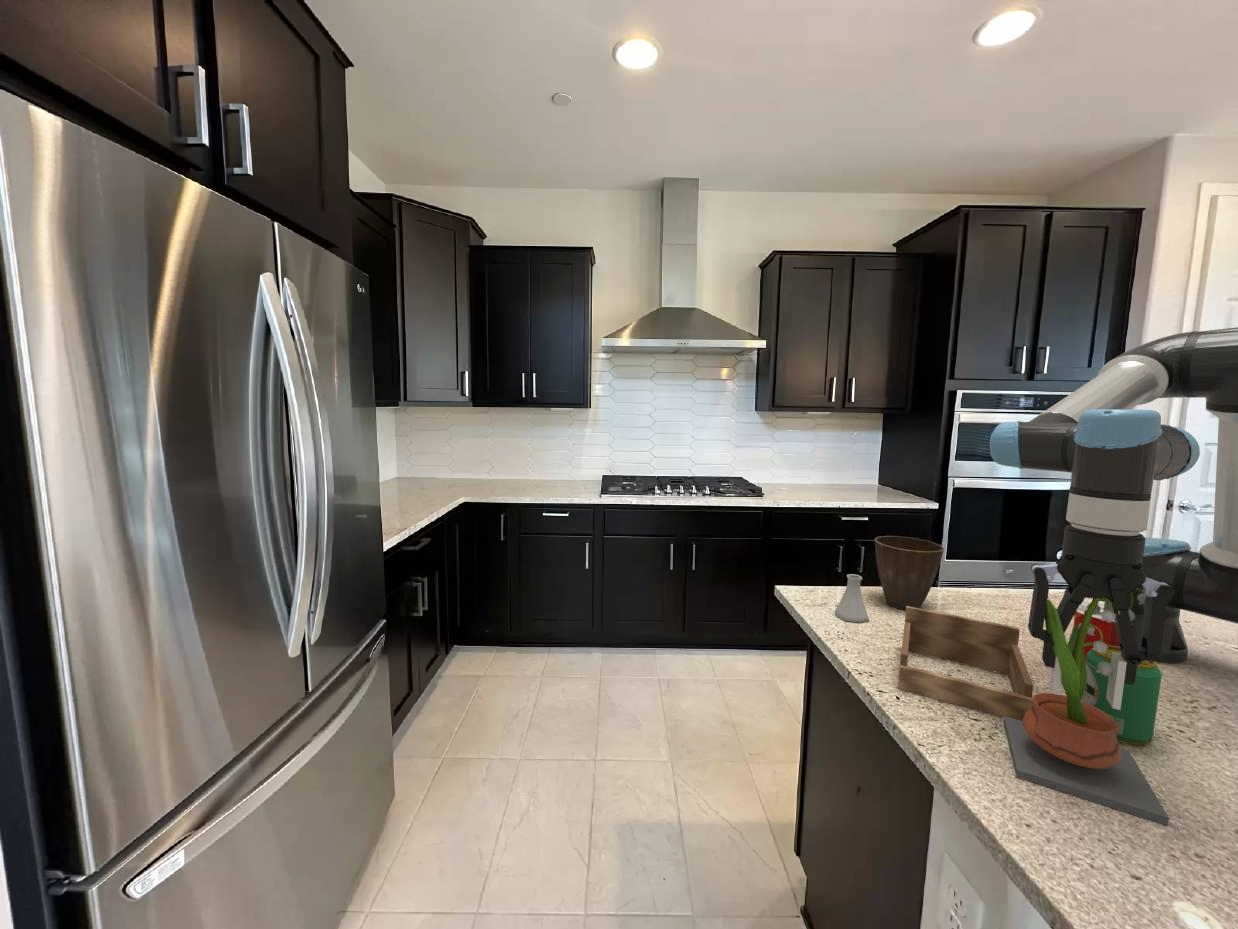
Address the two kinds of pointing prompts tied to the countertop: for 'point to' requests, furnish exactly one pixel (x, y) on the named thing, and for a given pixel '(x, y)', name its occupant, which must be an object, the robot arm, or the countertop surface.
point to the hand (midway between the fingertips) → (1083, 696)
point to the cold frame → (966, 661)
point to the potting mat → (1085, 776)
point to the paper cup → (1104, 626)
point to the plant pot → (906, 569)
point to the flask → (852, 602)
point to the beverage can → (1126, 697)
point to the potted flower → (1076, 697)
